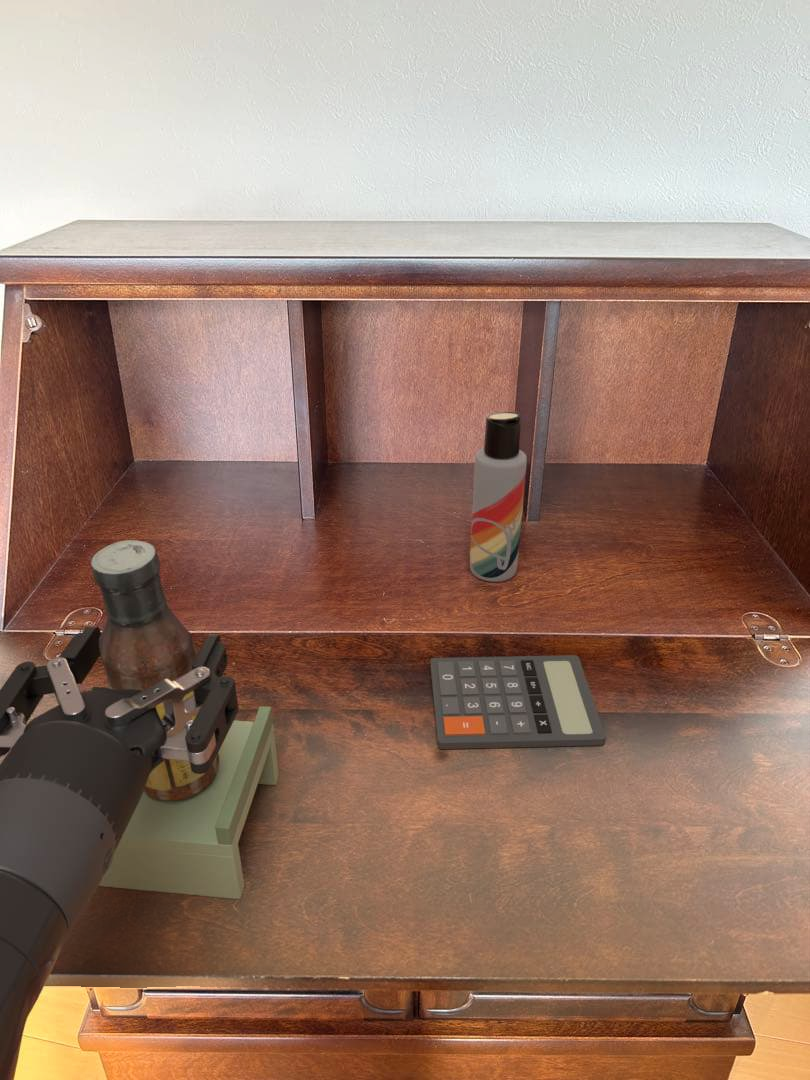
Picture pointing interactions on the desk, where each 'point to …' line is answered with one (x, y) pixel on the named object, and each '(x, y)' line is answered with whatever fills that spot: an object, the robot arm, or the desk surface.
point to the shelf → (199, 823)
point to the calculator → (513, 702)
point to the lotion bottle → (498, 499)
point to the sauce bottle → (145, 647)
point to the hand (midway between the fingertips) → (155, 640)
